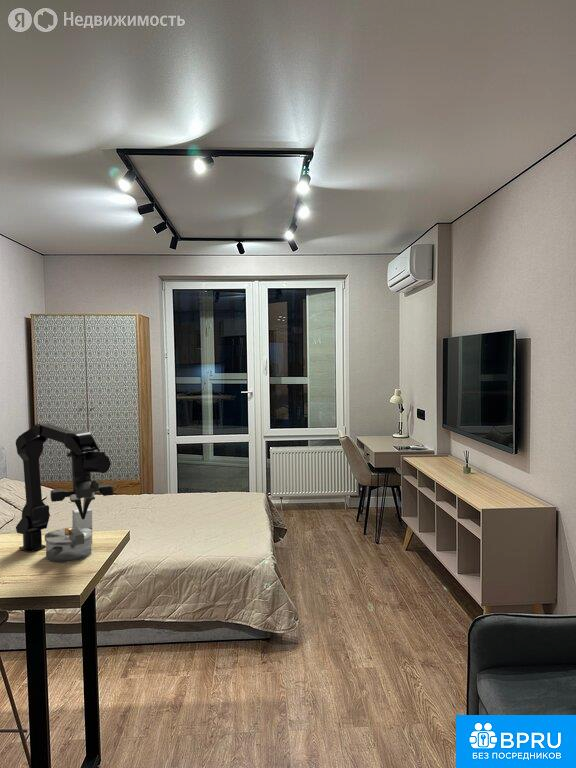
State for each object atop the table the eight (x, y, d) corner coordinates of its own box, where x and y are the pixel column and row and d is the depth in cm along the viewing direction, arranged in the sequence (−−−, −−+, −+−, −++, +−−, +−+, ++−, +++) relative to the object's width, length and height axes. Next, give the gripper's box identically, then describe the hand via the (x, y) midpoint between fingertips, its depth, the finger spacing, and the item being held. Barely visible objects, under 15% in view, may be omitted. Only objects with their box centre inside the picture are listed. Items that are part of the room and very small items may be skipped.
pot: (59, 548, 198) (59, 530, 197) (98, 548, 196) (98, 531, 196) (28, 568, 178) (28, 549, 178) (71, 569, 177) (71, 550, 177)
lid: (40, 535, 192) (40, 523, 191) (85, 527, 200) (85, 516, 200) (55, 552, 174) (54, 539, 174) (103, 543, 182) (103, 530, 182)
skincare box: (75, 547, 199) (74, 512, 198) (72, 543, 202) (71, 509, 202) (93, 543, 202) (92, 509, 201) (90, 540, 206) (89, 507, 205)
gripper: (51, 478, 173) (53, 529, 173) (115, 471, 181) (116, 520, 181) (49, 472, 183) (51, 520, 183) (109, 466, 191) (111, 513, 191)
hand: (83, 519), depth 184 cm, fingers closed
